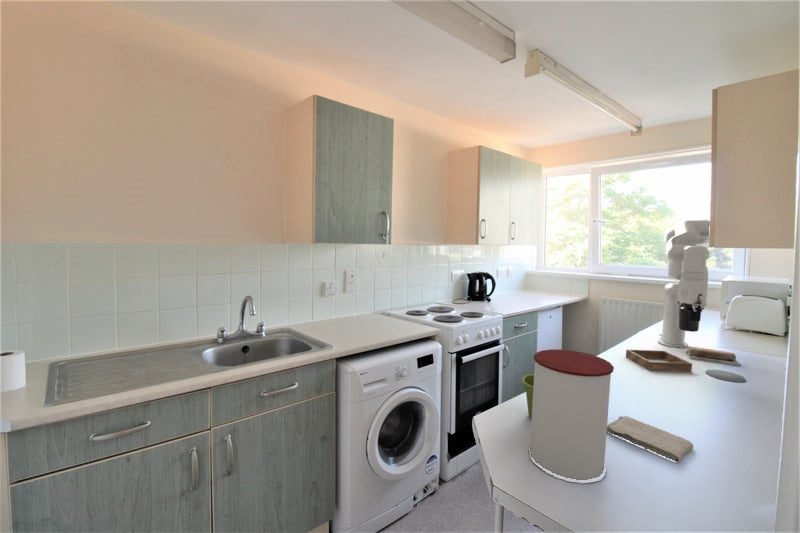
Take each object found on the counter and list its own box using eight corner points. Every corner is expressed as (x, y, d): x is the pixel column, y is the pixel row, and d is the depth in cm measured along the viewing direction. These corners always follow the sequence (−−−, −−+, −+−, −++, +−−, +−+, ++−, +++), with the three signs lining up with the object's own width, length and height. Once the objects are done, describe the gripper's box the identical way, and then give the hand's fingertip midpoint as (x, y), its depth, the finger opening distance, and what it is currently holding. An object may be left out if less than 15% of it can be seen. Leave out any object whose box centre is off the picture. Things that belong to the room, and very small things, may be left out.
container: (614, 459, 91) (621, 360, 89) (594, 495, 78) (603, 380, 76) (543, 433, 102) (548, 345, 100) (516, 461, 89) (521, 360, 87)
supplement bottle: (693, 328, 156) (696, 300, 155) (701, 332, 150) (704, 303, 149) (674, 327, 158) (677, 299, 157) (681, 331, 152) (684, 302, 151)
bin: (625, 356, 170) (626, 349, 169) (663, 358, 169) (664, 350, 169) (648, 370, 153) (649, 362, 152) (691, 372, 152) (692, 363, 152)
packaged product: (689, 349, 168) (685, 344, 177) (688, 359, 169) (684, 353, 178) (742, 356, 160) (734, 350, 168) (740, 367, 160) (733, 360, 169)
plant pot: (512, 413, 113) (513, 377, 112) (539, 405, 119) (541, 371, 118) (542, 431, 103) (545, 392, 102) (571, 422, 108) (574, 385, 107)
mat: (698, 370, 154) (698, 369, 154) (727, 371, 154) (728, 370, 154) (721, 381, 142) (721, 380, 142) (754, 382, 142) (754, 381, 142)
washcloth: (620, 421, 111) (621, 411, 110) (694, 450, 96) (696, 439, 96) (602, 434, 104) (602, 423, 103) (679, 467, 89) (680, 454, 89)
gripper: (669, 273, 161) (666, 314, 162) (698, 278, 144) (694, 323, 145) (687, 274, 160) (684, 314, 162) (719, 279, 143) (714, 324, 145)
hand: (689, 318), depth 154 cm, fingers closed on supplement bottle, 6 cm apart
